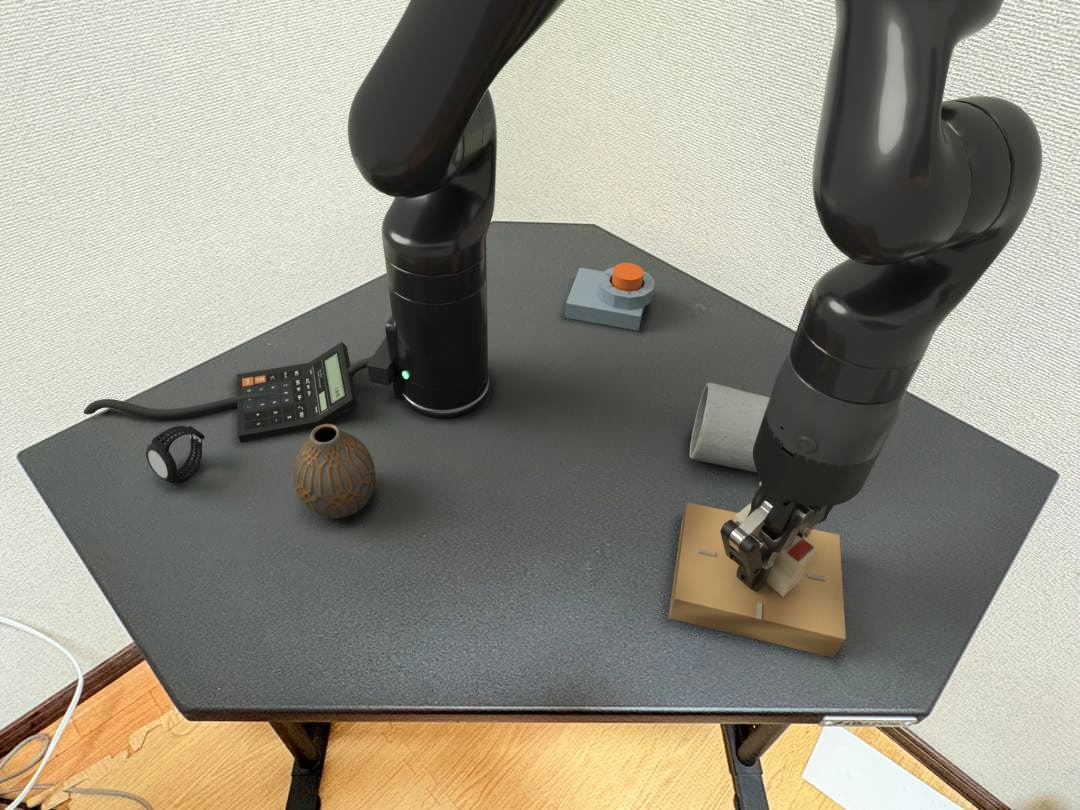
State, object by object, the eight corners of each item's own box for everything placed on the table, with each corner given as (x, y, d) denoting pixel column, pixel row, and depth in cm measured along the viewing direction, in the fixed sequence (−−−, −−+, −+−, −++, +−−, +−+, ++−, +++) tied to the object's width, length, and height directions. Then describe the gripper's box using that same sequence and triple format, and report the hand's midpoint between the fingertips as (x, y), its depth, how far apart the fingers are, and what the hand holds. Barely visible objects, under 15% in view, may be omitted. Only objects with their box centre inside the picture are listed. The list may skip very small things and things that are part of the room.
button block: (564, 317, 88) (566, 290, 85) (578, 281, 93) (580, 254, 91) (644, 332, 86) (649, 304, 83) (653, 294, 92) (658, 267, 89)
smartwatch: (153, 470, 68) (134, 433, 65) (209, 449, 70) (194, 412, 67) (164, 499, 66) (145, 462, 62) (222, 476, 68) (207, 439, 64)
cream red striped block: (723, 548, 60) (736, 512, 57) (740, 534, 61) (753, 499, 58) (783, 597, 57) (800, 563, 54) (799, 582, 58) (817, 547, 55)
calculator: (238, 380, 77) (231, 358, 75) (349, 362, 80) (345, 341, 78) (240, 442, 71) (232, 420, 69) (360, 420, 74) (356, 398, 72)
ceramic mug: (773, 491, 69) (796, 434, 64) (686, 475, 70) (702, 417, 65) (771, 417, 77) (791, 360, 71) (693, 403, 78) (707, 346, 72)
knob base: (668, 619, 59) (674, 598, 57) (681, 521, 66) (687, 499, 64) (833, 659, 57) (846, 639, 55) (828, 554, 64) (840, 532, 62)
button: (609, 289, 86) (610, 276, 85) (614, 273, 88) (616, 260, 87) (639, 294, 85) (641, 281, 84) (643, 277, 88) (645, 265, 87)
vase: (295, 483, 67) (275, 416, 61) (369, 463, 70) (357, 396, 64) (309, 540, 63) (289, 474, 57) (387, 517, 65) (376, 450, 59)
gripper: (841, 349, 52) (780, 501, 64) (709, 432, 46) (668, 584, 58) (937, 406, 48) (853, 557, 60) (807, 506, 42) (742, 654, 54)
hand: (763, 570), depth 59 cm, fingers open, 3 cm apart
